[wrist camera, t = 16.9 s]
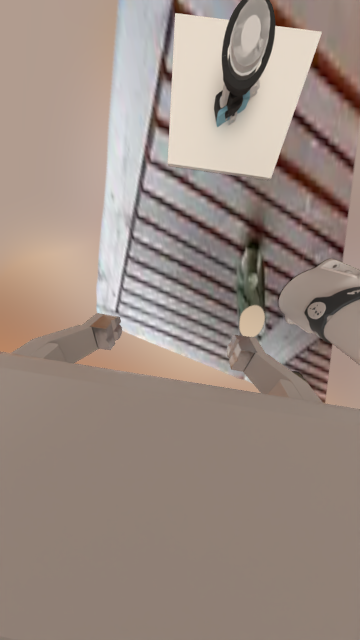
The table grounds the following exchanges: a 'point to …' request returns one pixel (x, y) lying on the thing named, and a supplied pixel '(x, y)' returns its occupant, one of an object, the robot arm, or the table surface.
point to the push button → (244, 56)
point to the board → (253, 122)
